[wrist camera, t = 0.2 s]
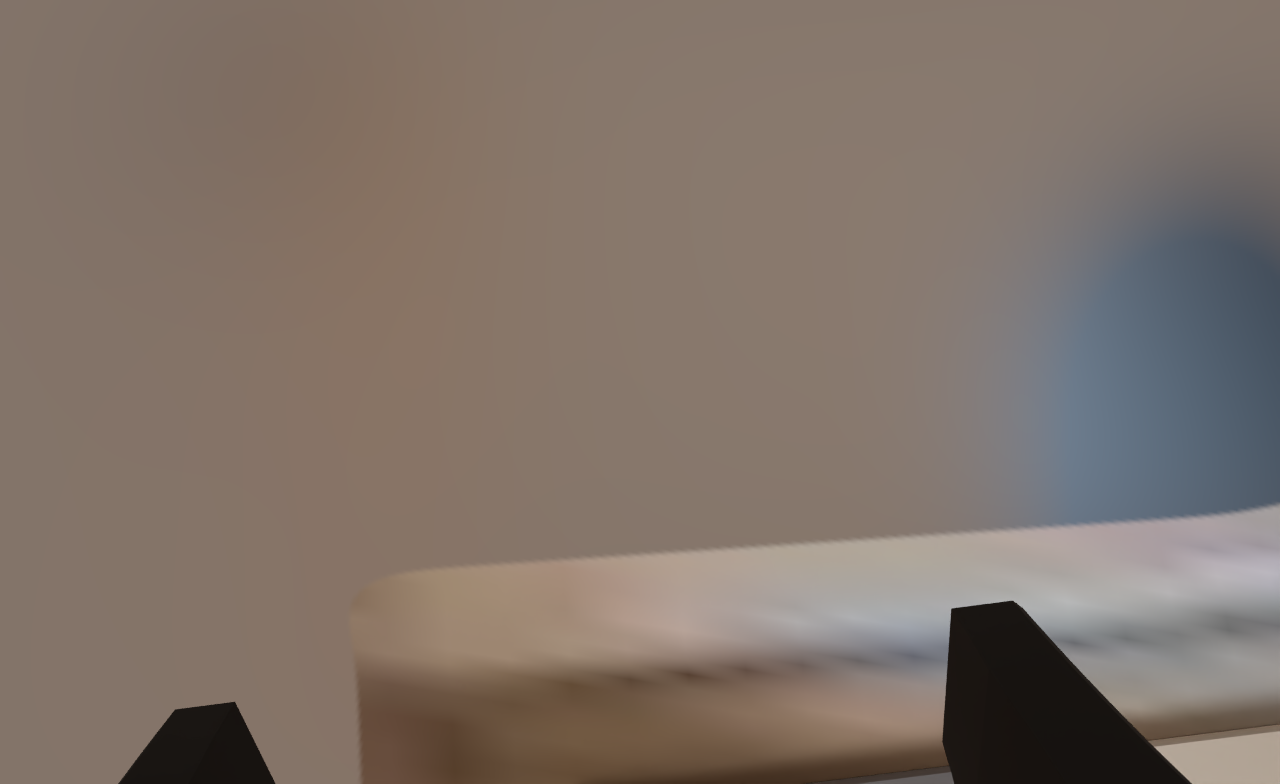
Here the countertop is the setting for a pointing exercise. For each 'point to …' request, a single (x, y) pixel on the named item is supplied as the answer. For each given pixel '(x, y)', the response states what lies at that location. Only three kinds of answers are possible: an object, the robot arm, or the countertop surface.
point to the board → (1214, 762)
